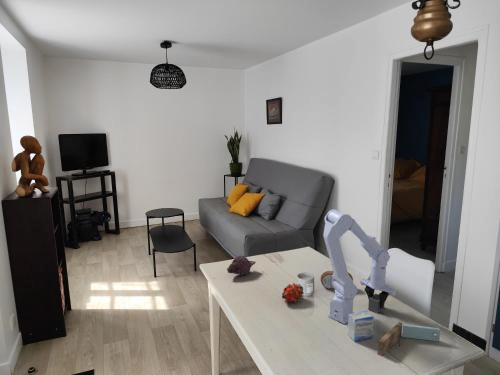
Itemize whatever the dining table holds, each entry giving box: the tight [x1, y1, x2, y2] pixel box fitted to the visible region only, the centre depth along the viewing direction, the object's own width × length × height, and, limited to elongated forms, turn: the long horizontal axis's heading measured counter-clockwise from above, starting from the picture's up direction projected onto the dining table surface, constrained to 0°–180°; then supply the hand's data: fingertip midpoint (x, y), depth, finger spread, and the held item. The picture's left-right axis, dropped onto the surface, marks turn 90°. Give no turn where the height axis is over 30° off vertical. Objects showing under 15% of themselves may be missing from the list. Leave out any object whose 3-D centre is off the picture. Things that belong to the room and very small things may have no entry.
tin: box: [320, 270, 354, 290], centre depth 163 cm, size 15×3×8 cm, turn 84°
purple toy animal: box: [226, 255, 256, 276], centre depth 179 cm, size 18×10×10 cm, turn 129°
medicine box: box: [347, 310, 375, 342], centre depth 126 cm, size 8×4×9 cm, turn 105°
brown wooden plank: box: [377, 321, 403, 357], centre depth 121 cm, size 16×2×5 cm, turn 133°
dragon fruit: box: [281, 282, 305, 304], centre depth 152 cm, size 8×8×12 cm
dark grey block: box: [367, 293, 385, 314], centre depth 144 cm, size 6×4×5 cm, turn 133°
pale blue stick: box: [402, 323, 441, 342], centre depth 123 cm, size 12×2×4 cm, turn 76°
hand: (376, 305), depth 144 cm, fingers closed on dark grey block, 4 cm apart
